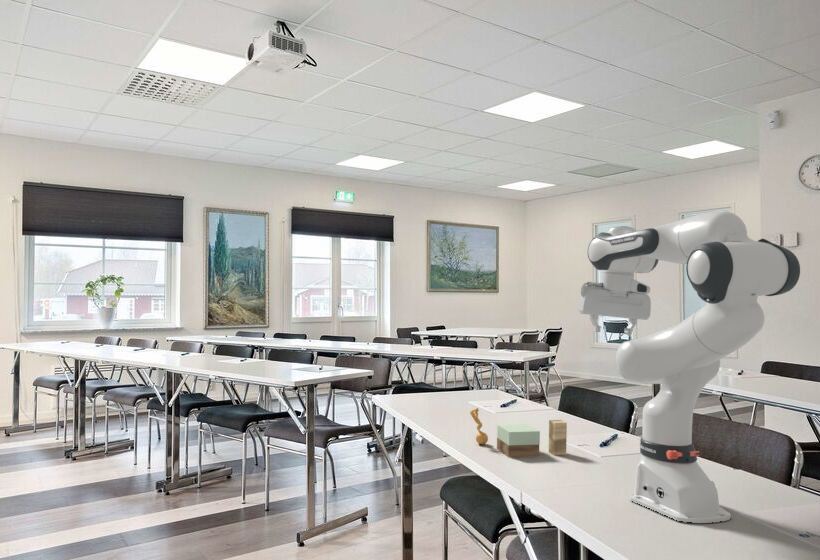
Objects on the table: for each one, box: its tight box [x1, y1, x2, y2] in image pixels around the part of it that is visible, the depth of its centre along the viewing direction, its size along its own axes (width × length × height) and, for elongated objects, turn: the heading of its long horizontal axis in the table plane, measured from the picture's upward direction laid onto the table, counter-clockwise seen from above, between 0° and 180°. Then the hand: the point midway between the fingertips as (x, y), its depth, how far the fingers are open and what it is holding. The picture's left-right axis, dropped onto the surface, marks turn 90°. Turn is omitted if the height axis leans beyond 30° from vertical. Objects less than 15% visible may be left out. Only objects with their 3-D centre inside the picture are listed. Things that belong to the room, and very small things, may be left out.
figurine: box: [469, 407, 489, 446], centre depth 195 cm, size 8×6×12 cm
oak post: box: [548, 419, 568, 456], centre depth 186 cm, size 4×4×10 cm
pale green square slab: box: [496, 423, 541, 445], centre depth 186 cm, size 10×10×4 cm
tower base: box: [496, 437, 540, 458], centre depth 186 cm, size 10×10×4 cm
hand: (612, 333), depth 168 cm, fingers open, 8 cm apart
